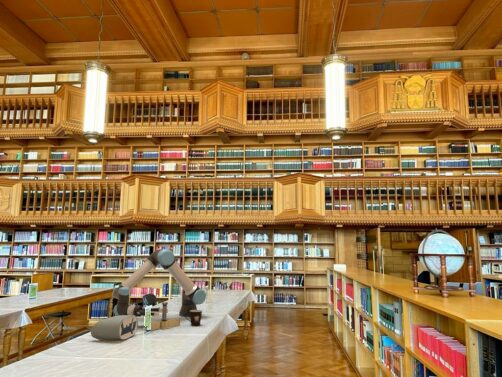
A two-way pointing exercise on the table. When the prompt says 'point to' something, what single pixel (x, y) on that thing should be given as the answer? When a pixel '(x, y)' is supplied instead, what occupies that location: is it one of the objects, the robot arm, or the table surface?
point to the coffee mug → (195, 317)
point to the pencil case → (115, 328)
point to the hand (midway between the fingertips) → (163, 312)
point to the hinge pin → (164, 311)
